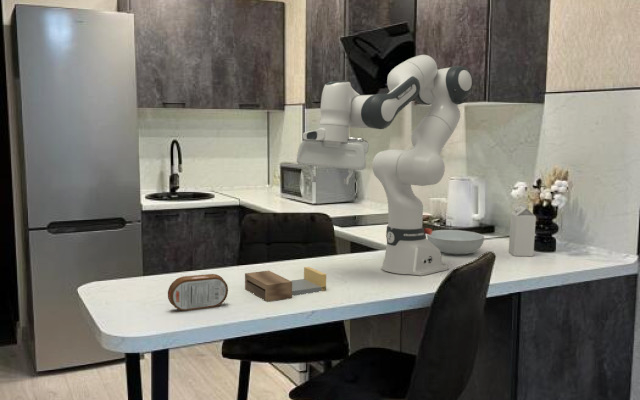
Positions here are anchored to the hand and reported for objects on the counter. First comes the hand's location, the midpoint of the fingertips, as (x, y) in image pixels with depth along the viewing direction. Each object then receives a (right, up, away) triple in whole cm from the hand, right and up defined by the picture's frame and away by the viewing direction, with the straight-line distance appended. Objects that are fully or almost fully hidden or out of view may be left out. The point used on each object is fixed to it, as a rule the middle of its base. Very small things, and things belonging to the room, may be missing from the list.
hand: (329, 183), depth 176 cm
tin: (-33, -32, -25) cm, 53 cm away
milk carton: (+72, -25, +48) cm, 90 cm away
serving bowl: (+48, -25, +50) cm, 73 cm away
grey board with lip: (-8, -30, -5) cm, 32 cm away
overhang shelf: (-17, -31, -10) cm, 37 cm away
